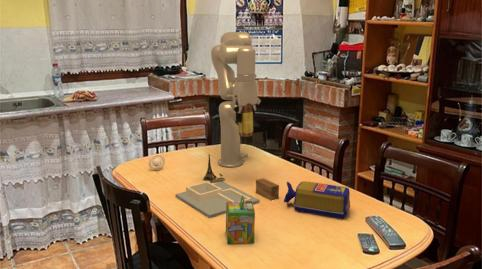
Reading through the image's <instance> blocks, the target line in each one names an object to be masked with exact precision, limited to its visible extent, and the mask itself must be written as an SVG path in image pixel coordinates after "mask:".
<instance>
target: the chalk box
mask: <svg viewBox="0 0 482 269" xmlns="http://www.w3.org/2000/svg"><path fill="white" fill-rule="evenodd" d="M255 219H256V213H255V207H254V204H253V203H252V201H244V197H243V195H242V198H241V201H240V202H226V213H225V235H226V242H227V245H234V244H235V245H237V244H238V245H239V244H241V245H242V244H255V225H256V224H255Z"/></svg>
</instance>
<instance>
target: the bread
mask: <svg viewBox="0 0 482 269" xmlns="http://www.w3.org/2000/svg"><path fill="white" fill-rule="evenodd" d="M286 186H287V193H286V194H285V195H284V198H283V202H284V203H286V205H287V204H288V203H289V202H290V201H291V200H293V208H294V210H295V212H301V213H306V214H312V215H318V216H325V217H328V216H329V218H334V217H335V218H336V219H340V218H341V219H342V220H344V219H345V218H346V217H347V215H348V212H349V210H350V208H351V199H350V197H351V194H350V188H349V187H347V186H346V187H345V186H339V185H335V184H334V185H333V184H327V183H322V182H315V181H314V182H311V181H304V180H303V181H300V182H299V184H298V185H297V186H296V188H295V190H294V189H293V186H292V184H291V183H290V182H289V181H286Z"/></svg>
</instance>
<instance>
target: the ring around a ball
mask: <svg viewBox="0 0 482 269" xmlns="http://www.w3.org/2000/svg"><path fill="white" fill-rule="evenodd" d="M165 162H166V161H165V157H164V156H163V155H162V154H159V153H156V154H153V155H151V156H150V158H149V159H148V166H149V168H150V169H151V170H153V171H159V170H161V169H162V168H164V166H165ZM153 166H154V167H153Z"/></svg>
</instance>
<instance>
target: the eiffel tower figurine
mask: <svg viewBox="0 0 482 269" xmlns="http://www.w3.org/2000/svg"><path fill="white" fill-rule="evenodd" d="M207 162H208V164H207V170H206V172H205V175H204V177H203V178H202V181H203V182H207V181H208V182H210V183H212V184H216V183H220V182H225V181H226V178H225V177H224V175H223V174H222V173H219V174H218V175H219V176H220V177H217V176H216V175H215V173H214V172H213V170H212V169H213V168H212V164H211V154H210V153H209V154H208V161H207Z"/></svg>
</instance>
